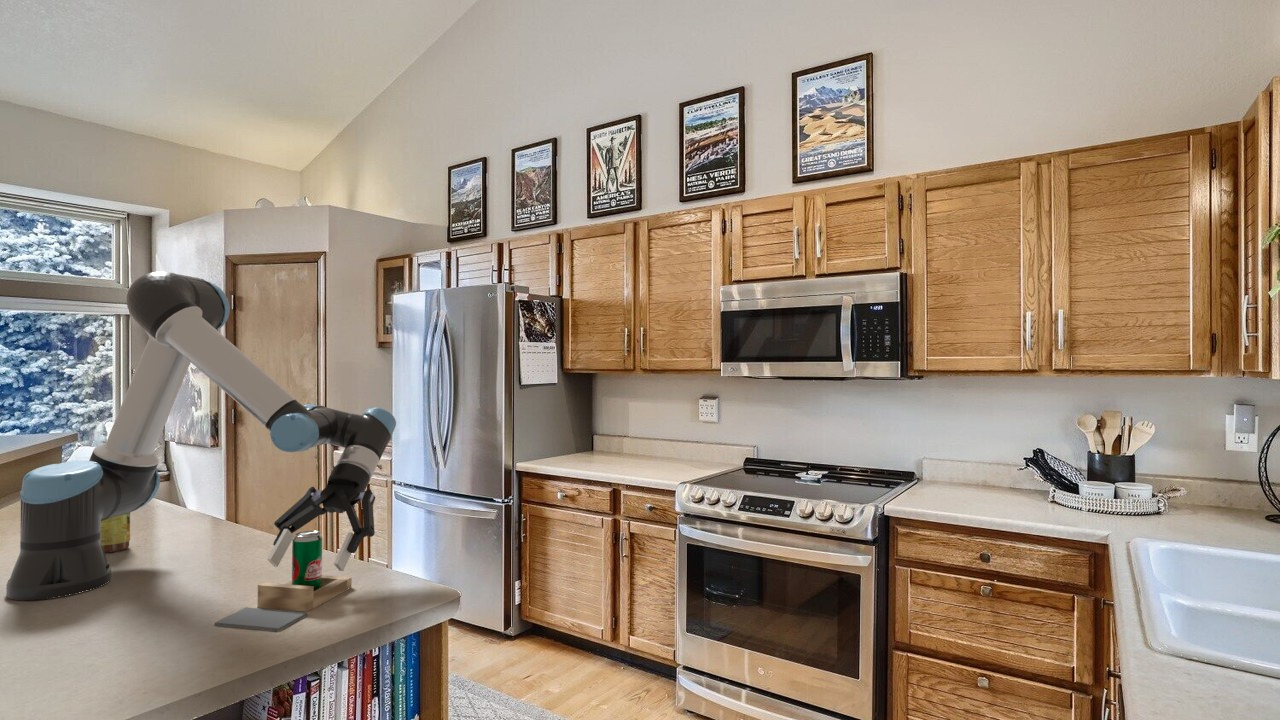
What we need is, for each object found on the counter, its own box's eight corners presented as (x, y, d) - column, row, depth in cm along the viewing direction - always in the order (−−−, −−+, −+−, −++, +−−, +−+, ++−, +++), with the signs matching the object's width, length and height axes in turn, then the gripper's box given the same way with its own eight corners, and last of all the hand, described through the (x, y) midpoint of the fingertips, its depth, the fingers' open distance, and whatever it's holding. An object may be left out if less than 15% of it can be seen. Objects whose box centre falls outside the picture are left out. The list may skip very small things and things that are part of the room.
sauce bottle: (134, 549, 153) (136, 463, 153) (101, 555, 148) (103, 467, 148) (122, 544, 156) (124, 461, 157) (90, 550, 151) (92, 464, 151)
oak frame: (257, 607, 118) (257, 585, 118) (305, 583, 131) (306, 563, 131) (307, 611, 117) (308, 589, 117) (351, 587, 129) (351, 567, 129)
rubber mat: (214, 625, 110) (214, 622, 110) (246, 610, 117) (246, 607, 117) (278, 631, 108) (278, 628, 108) (307, 615, 115) (307, 612, 115)
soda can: (309, 603, 121) (310, 537, 121) (285, 600, 122) (286, 535, 122) (327, 593, 126) (328, 530, 126) (304, 591, 127) (305, 529, 127)
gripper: (291, 459, 137) (235, 551, 122) (402, 463, 133) (358, 558, 118) (307, 480, 143) (255, 571, 128) (414, 484, 139) (374, 578, 124)
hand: (304, 565), depth 123 cm, fingers open, 13 cm apart
